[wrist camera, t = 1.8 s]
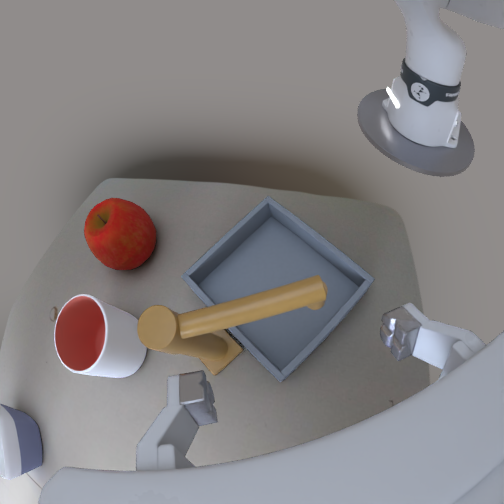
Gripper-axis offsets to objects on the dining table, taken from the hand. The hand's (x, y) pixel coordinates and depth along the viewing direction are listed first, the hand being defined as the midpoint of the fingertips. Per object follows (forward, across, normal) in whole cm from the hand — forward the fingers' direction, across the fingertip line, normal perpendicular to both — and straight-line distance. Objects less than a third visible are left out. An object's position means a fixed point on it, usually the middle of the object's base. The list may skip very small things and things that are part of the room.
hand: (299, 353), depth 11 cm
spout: (+11, +2, +7) cm, 13 cm away
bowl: (+14, +51, +30) cm, 61 cm away
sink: (+22, -4, +12) cm, 25 cm away
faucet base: (+19, +6, +16) cm, 26 cm away
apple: (+36, +16, +6) cm, 39 cm away
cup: (+23, +20, +16) cm, 35 cm away
